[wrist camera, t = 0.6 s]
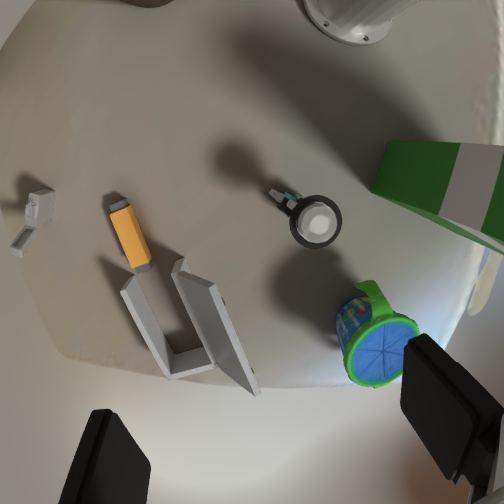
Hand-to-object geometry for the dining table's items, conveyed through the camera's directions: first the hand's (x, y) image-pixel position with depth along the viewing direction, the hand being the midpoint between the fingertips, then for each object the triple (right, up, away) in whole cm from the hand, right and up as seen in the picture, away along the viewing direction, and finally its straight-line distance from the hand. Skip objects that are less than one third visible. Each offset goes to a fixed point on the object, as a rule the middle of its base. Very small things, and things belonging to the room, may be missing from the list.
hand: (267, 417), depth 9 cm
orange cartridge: (-15, +7, +30) cm, 35 cm away
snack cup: (+15, -5, +37) cm, 40 cm away
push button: (+4, +11, +31) cm, 33 cm away
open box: (-11, -3, +34) cm, 36 cm away
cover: (-4, -4, +25) cm, 26 cm away
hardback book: (+25, +14, +32) cm, 43 cm away
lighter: (-28, +10, +28) cm, 41 cm away
